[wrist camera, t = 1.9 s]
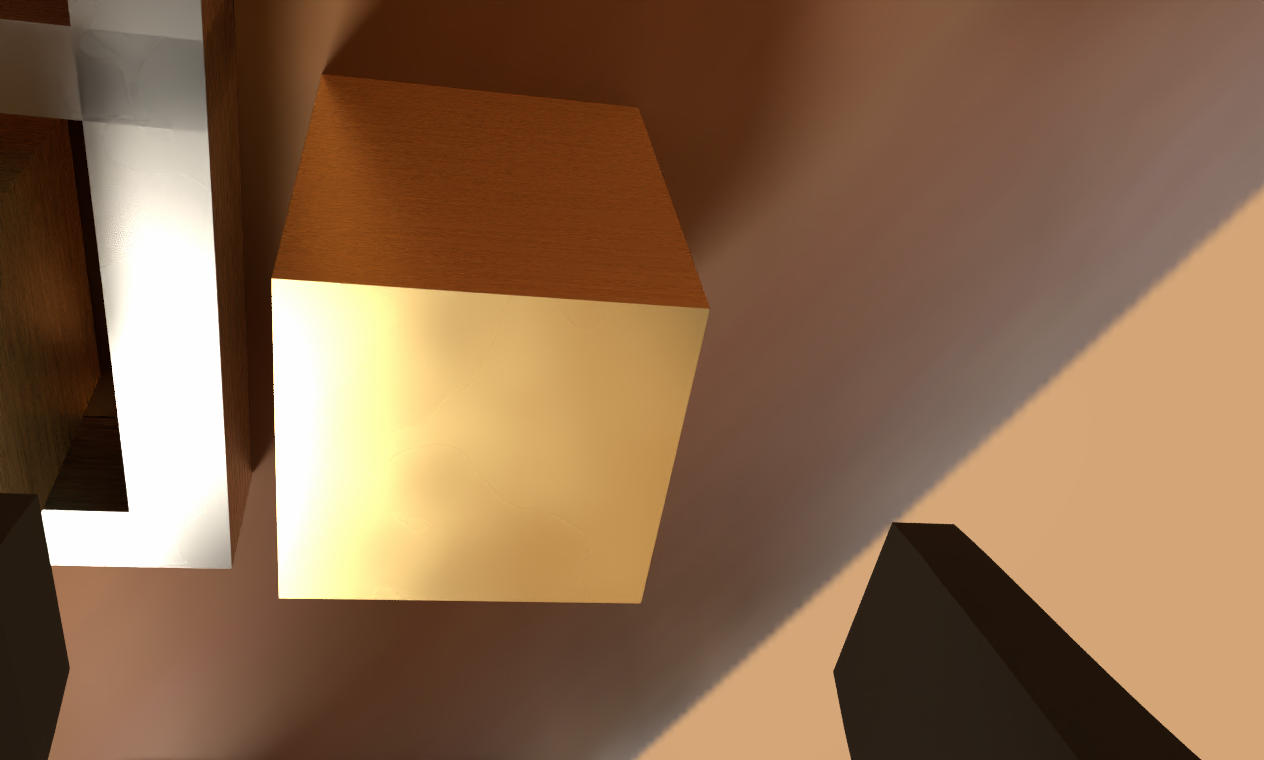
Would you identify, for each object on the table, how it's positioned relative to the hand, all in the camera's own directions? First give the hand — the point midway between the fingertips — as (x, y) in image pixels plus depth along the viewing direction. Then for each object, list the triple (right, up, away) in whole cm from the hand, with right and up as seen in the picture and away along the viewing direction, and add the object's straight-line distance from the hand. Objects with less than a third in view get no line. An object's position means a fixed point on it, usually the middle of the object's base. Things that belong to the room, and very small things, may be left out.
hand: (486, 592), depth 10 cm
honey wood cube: (-1, +4, +6) cm, 7 cm away
